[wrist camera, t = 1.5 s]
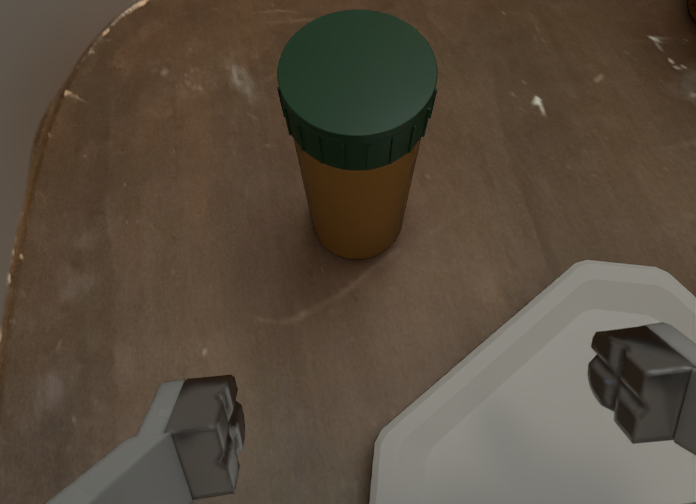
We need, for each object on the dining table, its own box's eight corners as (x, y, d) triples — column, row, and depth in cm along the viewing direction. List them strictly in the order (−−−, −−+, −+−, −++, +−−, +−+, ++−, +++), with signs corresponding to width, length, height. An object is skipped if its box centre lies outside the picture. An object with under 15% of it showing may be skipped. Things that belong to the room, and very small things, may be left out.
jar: (366, 277, 27) (373, 169, 16) (293, 225, 28) (251, 90, 17) (420, 208, 28) (461, 65, 17) (348, 162, 30) (343, 1, 19)
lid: (372, 199, 17) (374, 167, 15) (255, 121, 19) (242, 81, 16) (457, 97, 19) (470, 55, 17) (343, 32, 20) (342, -15, 18)
